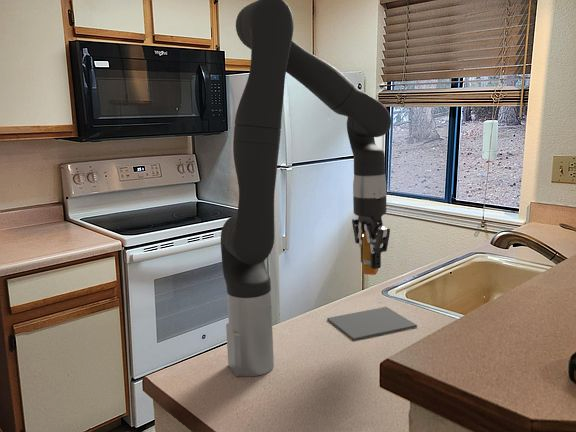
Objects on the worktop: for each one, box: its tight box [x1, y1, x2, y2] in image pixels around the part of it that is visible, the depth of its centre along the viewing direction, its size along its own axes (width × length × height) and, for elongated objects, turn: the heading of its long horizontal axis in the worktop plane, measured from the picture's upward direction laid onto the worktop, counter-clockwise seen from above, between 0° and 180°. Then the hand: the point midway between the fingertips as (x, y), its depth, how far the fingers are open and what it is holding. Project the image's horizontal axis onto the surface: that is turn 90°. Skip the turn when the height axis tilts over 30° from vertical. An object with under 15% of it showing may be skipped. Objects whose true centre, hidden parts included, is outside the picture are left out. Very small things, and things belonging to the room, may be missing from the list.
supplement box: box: [362, 232, 379, 276], centre depth 124 cm, size 3×3×10 cm
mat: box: [327, 306, 418, 341], centre depth 135 cm, size 18×14×1 cm
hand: (370, 265), depth 124 cm, fingers closed on supplement box, 4 cm apart
